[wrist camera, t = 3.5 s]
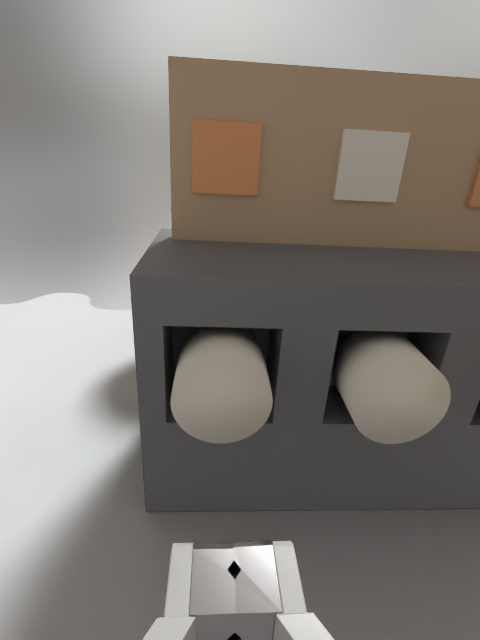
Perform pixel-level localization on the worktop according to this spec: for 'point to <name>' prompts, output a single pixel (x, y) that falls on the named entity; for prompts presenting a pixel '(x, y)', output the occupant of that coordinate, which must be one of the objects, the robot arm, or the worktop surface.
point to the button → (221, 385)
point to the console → (314, 278)
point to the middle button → (389, 386)
